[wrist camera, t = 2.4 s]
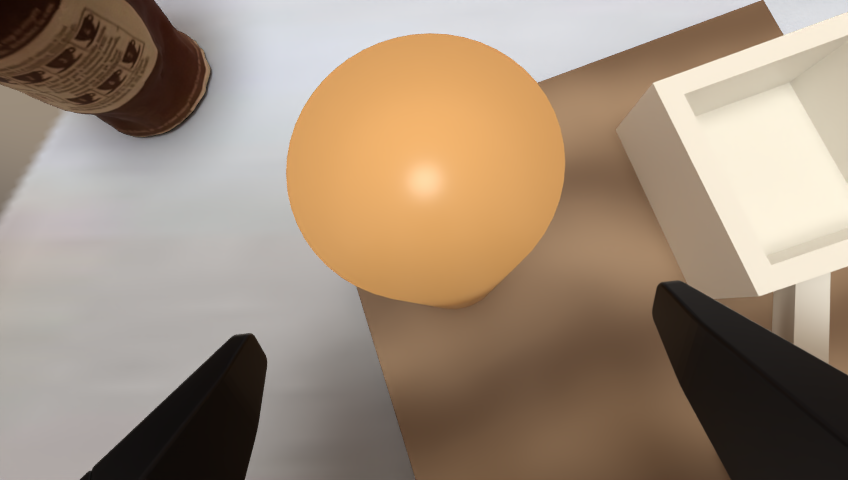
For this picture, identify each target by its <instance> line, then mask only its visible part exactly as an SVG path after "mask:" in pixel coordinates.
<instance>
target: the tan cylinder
mask: <svg viewBox="0 0 848 480" xmlns="http://www.w3.org/2000/svg"><path fill="white" fill-rule="evenodd" d="M564 173H565V152H564V143H563V138H562V133H561V128H560V125H559V123H558V120H557V117H556V114H555V111H554V110H553V108H552V106H551V104H550V102H549V100H548V98H547V96H546V95H545V93H544V92H543V91H542V89H541V88H540V86H539V85H538V84H537V82H536V81H535V80H534V79H533V78H532V77H531V76H530V75H529V74H528V73H527V72H526V70H525V69H523V68H522V67H521V66H520V65H518V64H517V63H516V62H515V61H514V60H512V59H511V58H509V57H508V56H506V55H505V54H503V53H501V52H500V51H498V50H496V49H494V48H492V47H490V46H487V45H485V44H483V43H481V42H478V41H474V40H471V39H468V38H464V37H459V36H453V35H448V34H415V35H408V36H403V37H397V38H393V39H390V40H387V41H384V42H381V43H378V44H376V45H373V46H371V47H369V48H367V49H364V50H362V51H361V52H359V53H357V54H356V55H354V56H352V57H351V58H349V59H348V60H346V61H345V62H344V63H342V64H341V65H340V66H338V67H337V68H336V69H335V70H334V71H332V72H331V73H330V74H329V75H328V76H327V77H326V78H325V79H324V80H323V81H322V82H321V84H320V85H319V86H318V87H317V89H316V90H315V91H314V92H313V94H312V95H311V96H310V98H309V100H308V101H307V103H306V104H305V106H304V108H303V109H302V111H301V114H300V116H299V118H298V120H297V122H296V124H295V127H294V130H293V134H292V137H291V140H290V145H289V150H288V155H287V169H286V177H287V190H288V195H289V200H290V205H291V209H292V211H293V214H294V217H295V220H296V223H297V225H298V227H299V229H300V231H301V232H302V234H303V236H304V238H305V240H306V241H307V243H308V244H309V245H310V247H311V248H312V250H313V251H314V252H315V254H316V255H317V256H318V257H319V258H320V259H321V260H322V261H323V262H324V263H325V264H326V265H327V266H328V267H329V268H330V269H331V270H333V271H334V272H335V273H337V274H338V275H339V276H340V277H342V278H343V279H345V280H347V281H348V282H350V283H352V284H353V285H355V286H357V287H359V288H361V289H364V290H366V291H368V292H371V293H373V294H376V295H380V296H383V297H387V298H391V299H395V300H401V301H406V302H412V303H417V304H423V305H428V306H433V307H439V308H445V309H459V308H465V307H468V306H471V305H473V304H475V303H477V302H479V301H480V300H482V299H483V298H484V297H486V296H487V295H488V294H489V293H490V292H491V291H492V290H493V289H494V288H495V287H496V286H497V285H498V284H499V283H500V282H501V281H502V280H503V279H504V278H505V277H506V276H507V275H508V274H509V273H510V272H511V271H512V270H513V269H514V268H515V267H516V266H517V265H518V264H519V263H520V262H521V261H522V260H523V259H524V258H525V257H526V256H527V255H528V254H529V253H530V252H531V251H532V250H533V249H534V247H535V246H536V245H537V243H538V242H539V241H540V239H541V238H542V236H543V235H544V234H545V232H546V230H547V228H548V226H549V224H550V222H551V221H552V219H553V217H554V214H555V211H556V209H557V206H558V203H559V201H560V197H561V192H562V188H563V183H564Z"/></svg>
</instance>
